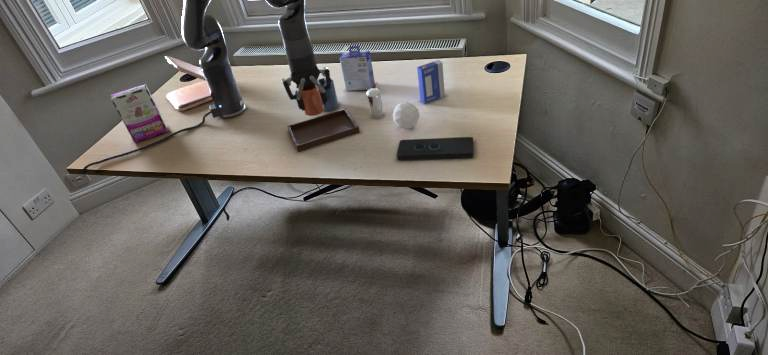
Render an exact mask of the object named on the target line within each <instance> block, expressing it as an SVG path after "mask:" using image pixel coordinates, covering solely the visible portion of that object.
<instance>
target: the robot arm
mask: <svg viewBox="0 0 768 355" xmlns="http://www.w3.org/2000/svg"><path fill="white" fill-rule="evenodd" d="M210 2H211V0H183V7H182V9H183V10H182V16H181V36H182V39H183V41H184V43H185V45H186V46H187V47H188V48H189V49H190V50H192V51H195V52H197V51H202V50H204V53H203V55H202V56H201V58H199V60H198V61H199V62H198V63H199V66H200V67H199V68H201V69H202V72H203V74H204V77H205V79H206V82H207V84H208V87H209V90H210V94H211V97H212V99H213V100H212V102H213V103H212V104H209V110H210V111H208V112H206V113H205V114H204V115H203V116H202V121H201V122H199V123H198V124H196V125H194V126H190V127H185V128H182V129H179V130H176V131H174V132H173V133H171V134H169V135H167V136H164V137H163V138H160V139H159V140H156V141H154V142H152V143H149V144H147V145H143V146H141V147H137V148H136V149H132V150H129V151H127V152H124V153H121V154H115V155H113V156H109V157H106V158H103V159H101V160H98V161H97V160H96V161H93V162H91V163H88V164H87V165H85V166H84V167H83V168H82V170H81V172H80V173H81V174H84V173H85V172H86V170H87V169H88V168H90V167H92V166H95V165H98V164H101V163H104V162H107V161H110V160H114V159H116V158H120V157H124V156H128V155H130V154H133V153H137V152H139V151H143V150H145V149H147V148H150V147H153V146H155V145H157V144H160V143H162V142H164V141H166V140H168V139H170V138H172V137H174V136H176V135H179V134H180V133H182V132H185V131H190V130H194V129H196V128H199V127H200V126H203V125H204V123H205V121H206V118H207V117H208V116H209V115H212V118H213V119H215V118H219V119H227V118H233V117H234V118H235V117H236V116H239V115H241V114H242V113H244V112H245V111H246V108H247V107H246V105H245V99H244V98H243V97H242V94H241V91H240V89H239V86H238V82H237V80H236V77H235V74H234V72H233V69H232V66H231V63H230V60H229V51H228V50H229V49H228V46H227V43H226V40H225V37H224V34H223V30H222V27H221V25H220V23H219V21H218V20H217V19H216V18H215V16H213V15H212V14H210V13H206V11H207V8H208V6H209V4H210ZM265 2H266V3H267V4H268V5H269V6H271V7H272V8H274V9H282V8H284V7H286V8H285V11H284V12H283V13H282V14H281V15H280V16H279V17H278V22H277V23H278V27H279V30H280V35H281V38H282V43H283V48H284V53H285V56H286V60H287V64H288V68H289V70H290V76H289V77H287V78H282V79H281V82H282V85H283V87H284V89H285V92H286V94H287V96H288V98H289V99H290V100H291V101H293V100H295V101H296V104H297V107H298V109H299V110H301V111H302V112H304V110H305V109H304V106H303V102H302V99H301V93H302V91H303V88H307V87H309V86H314V85H316V86H317V87H318V88H319V90H320V92H321V96H322V100H323V104H324V105H325V104H326V102H327V97H326V90H328V89H330V88H331V84H330V78H331V74H330V72H331V71H330V69H329V68H328V67H327V66H324V67H323V68H319V67H318V65H317V61H316V56H315V52H314V46H313V44H312V41H311V38H310V35H309V32H308V27H307V23H306V19H305V16H306V15H305V14H306V0H265ZM320 74H321V76H322V77H323V78H324V82H325V85H323V86H322V85H321V84H320V83H319V82H318V80H319V77H320ZM292 83H294V84H296V85H295V92H294V93H293V92H292V90H291V86H292Z"/></svg>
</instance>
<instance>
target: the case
mask: <svg viewBox="0 0 768 355" xmlns="http://www.w3.org/2000/svg"><path fill="white" fill-rule="evenodd" d="M164 58H165V59H166V60H167V62H168V64H169V65H170V66H173V67H174V68H175V69H176V70H178V71H179V72H180V73H183V74H187V75H190V76H192V77H194V78H197V79H200V80H201V81H198V82H195V83H192V84H189V85H185V86H183V87H181V88H178V89H175V90H171V91H169V92H168V93H167V94H166V99H167V100H168V101H169V102H170V104H171V105H172V106H173V108H174V109H175V111H177V112H184V111H187V110H189V109H193V108H195V107H198V106H200V105H203V104H205V103H208V102H211V101H213V99H212V97H211V94H210V90H209V87H208V84H207V82H206V79H205V77H204V74H203V72H202V69H201V67H199V66H197V65H194V64H191V63H188V62H186V61H183V60H181V59H177V58H175V57H172V56H170V55H165V56H164Z"/></svg>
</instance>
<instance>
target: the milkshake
mask: <svg viewBox="0 0 768 355" xmlns="http://www.w3.org/2000/svg"><path fill="white" fill-rule="evenodd" d="M378 83H379V82H376V81H375V88H374V87H373V88H372V89H368V90H367V91H366V93H365V94H366V97H367V101H368V104H369V109H370V112H371V116H372V118H373V119H381V118H382V117H383V114H384V113H383V102H382V101H383V100H382V91H381V89H379V88H378V87H379V86H378Z"/></svg>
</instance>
